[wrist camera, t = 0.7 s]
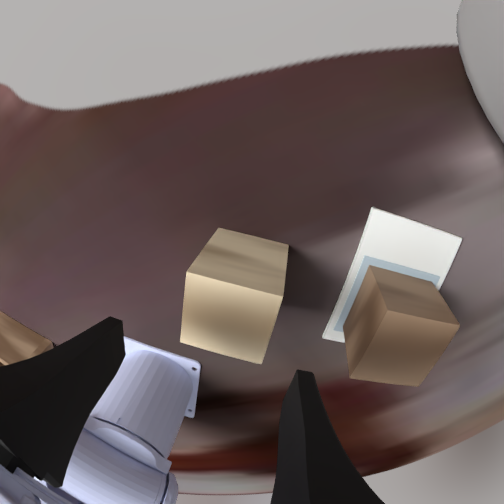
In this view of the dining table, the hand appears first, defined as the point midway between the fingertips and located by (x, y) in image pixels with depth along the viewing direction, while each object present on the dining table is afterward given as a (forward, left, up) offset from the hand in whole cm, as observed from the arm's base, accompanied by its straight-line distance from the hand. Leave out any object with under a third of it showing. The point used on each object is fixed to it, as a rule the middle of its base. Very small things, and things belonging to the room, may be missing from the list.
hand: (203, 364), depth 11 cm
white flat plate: (+1, -10, -9) cm, 14 cm away
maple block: (0, 0, -9) cm, 9 cm away
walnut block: (0, -10, -9) cm, 14 cm away
